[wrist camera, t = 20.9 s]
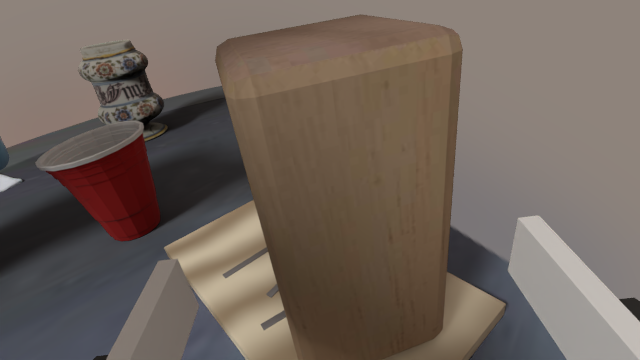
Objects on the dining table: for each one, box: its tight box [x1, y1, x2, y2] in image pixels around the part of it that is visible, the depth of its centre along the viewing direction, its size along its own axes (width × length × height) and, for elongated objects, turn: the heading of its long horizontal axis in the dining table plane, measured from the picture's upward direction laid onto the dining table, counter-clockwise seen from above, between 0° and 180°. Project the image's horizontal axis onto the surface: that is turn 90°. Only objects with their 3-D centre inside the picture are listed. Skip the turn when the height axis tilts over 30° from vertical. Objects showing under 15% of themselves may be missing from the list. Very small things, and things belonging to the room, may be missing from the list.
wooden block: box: [215, 15, 463, 360], centre depth 22 cm, size 10×10×20 cm
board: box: [164, 200, 506, 360], centre depth 32 cm, size 28×16×1 cm, turn 41°
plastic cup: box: [35, 121, 160, 241], centre depth 40 cm, size 11×11×12 cm
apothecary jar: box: [78, 40, 167, 141], centre depth 68 cm, size 12×12×18 cm
